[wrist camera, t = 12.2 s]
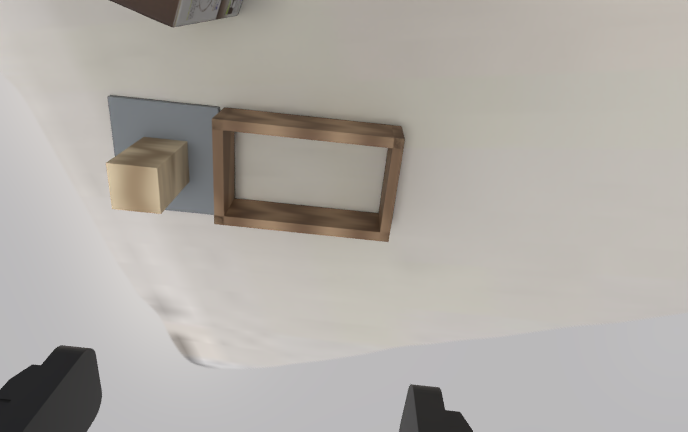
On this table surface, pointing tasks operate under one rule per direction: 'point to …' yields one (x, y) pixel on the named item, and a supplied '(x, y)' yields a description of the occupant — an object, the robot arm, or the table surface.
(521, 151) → the table surface
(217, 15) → the coffee box
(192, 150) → the slate mat
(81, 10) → the table surface
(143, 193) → the oak block
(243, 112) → the walnut surround
